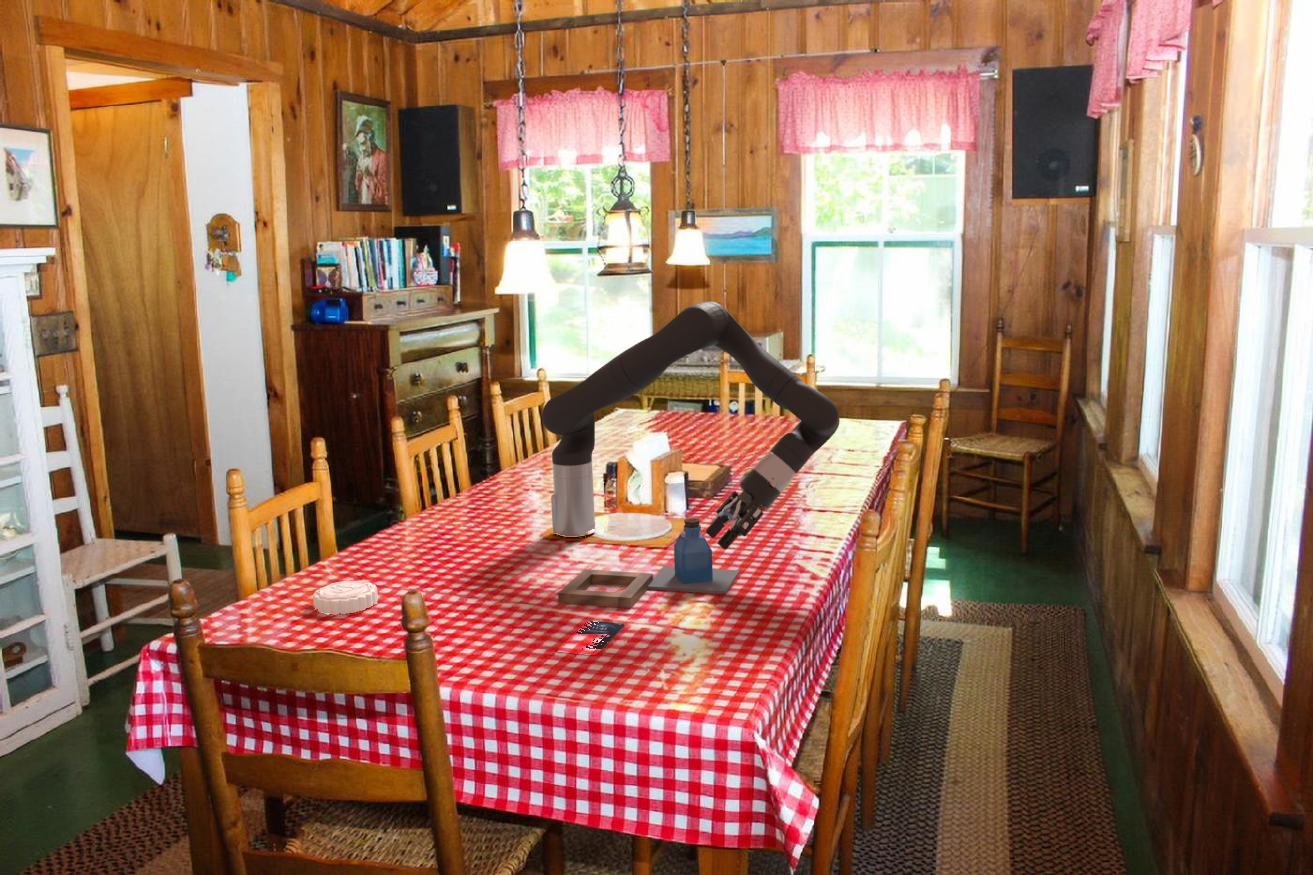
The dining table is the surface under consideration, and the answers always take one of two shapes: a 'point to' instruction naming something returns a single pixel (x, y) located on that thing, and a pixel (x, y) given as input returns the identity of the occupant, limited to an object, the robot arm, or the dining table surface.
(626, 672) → the dining table surface
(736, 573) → the rubber mat
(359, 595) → the mooncake
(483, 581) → the dining table surface
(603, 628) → the smartphone
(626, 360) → the robot arm
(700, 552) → the perfume bottle
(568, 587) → the block
